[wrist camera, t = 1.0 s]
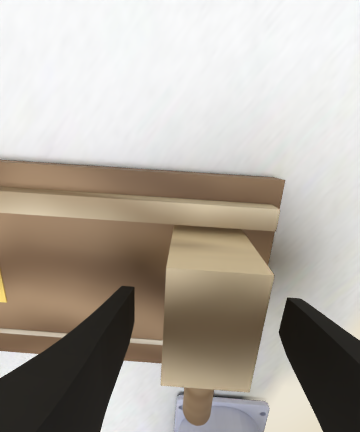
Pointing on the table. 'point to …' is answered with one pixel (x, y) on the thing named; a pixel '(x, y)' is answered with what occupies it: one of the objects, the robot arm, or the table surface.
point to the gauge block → (212, 314)
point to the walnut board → (108, 242)
